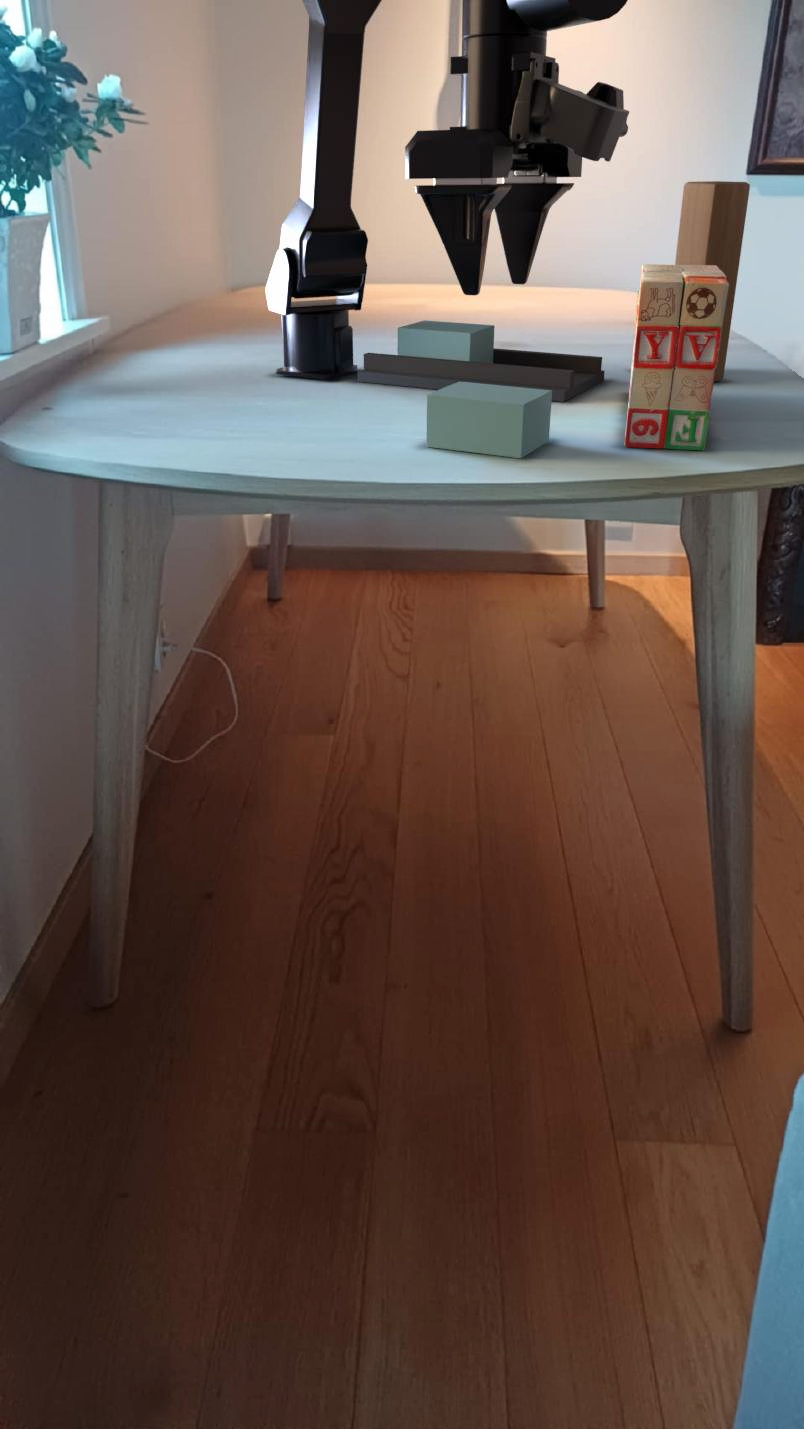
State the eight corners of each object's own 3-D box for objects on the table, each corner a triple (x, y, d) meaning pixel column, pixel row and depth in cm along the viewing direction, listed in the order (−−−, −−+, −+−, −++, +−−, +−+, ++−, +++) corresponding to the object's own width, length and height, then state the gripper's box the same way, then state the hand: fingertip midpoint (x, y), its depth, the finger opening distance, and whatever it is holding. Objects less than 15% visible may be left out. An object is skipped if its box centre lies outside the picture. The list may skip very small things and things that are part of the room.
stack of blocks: (627, 393, 100) (641, 254, 95) (695, 396, 99) (713, 255, 94) (623, 447, 82) (640, 278, 76) (706, 451, 81) (729, 279, 75)
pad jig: (357, 381, 106) (356, 329, 104) (411, 363, 115) (411, 315, 113) (564, 402, 97) (568, 345, 95) (604, 380, 106) (608, 328, 104)
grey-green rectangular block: (425, 446, 82) (426, 394, 80) (457, 431, 87) (459, 381, 85) (521, 458, 79) (524, 404, 77) (548, 441, 84) (552, 390, 82)
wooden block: (633, 370, 111) (652, 180, 103) (666, 367, 113) (688, 180, 105) (689, 385, 104) (715, 182, 96) (724, 381, 106) (752, 182, 98)
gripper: (573, 15, 60) (557, 306, 67) (658, 46, 75) (638, 282, 82) (400, 28, 64) (402, 300, 71) (512, 55, 79) (505, 278, 86)
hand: (496, 289), depth 78 cm, fingers open, 9 cm apart
